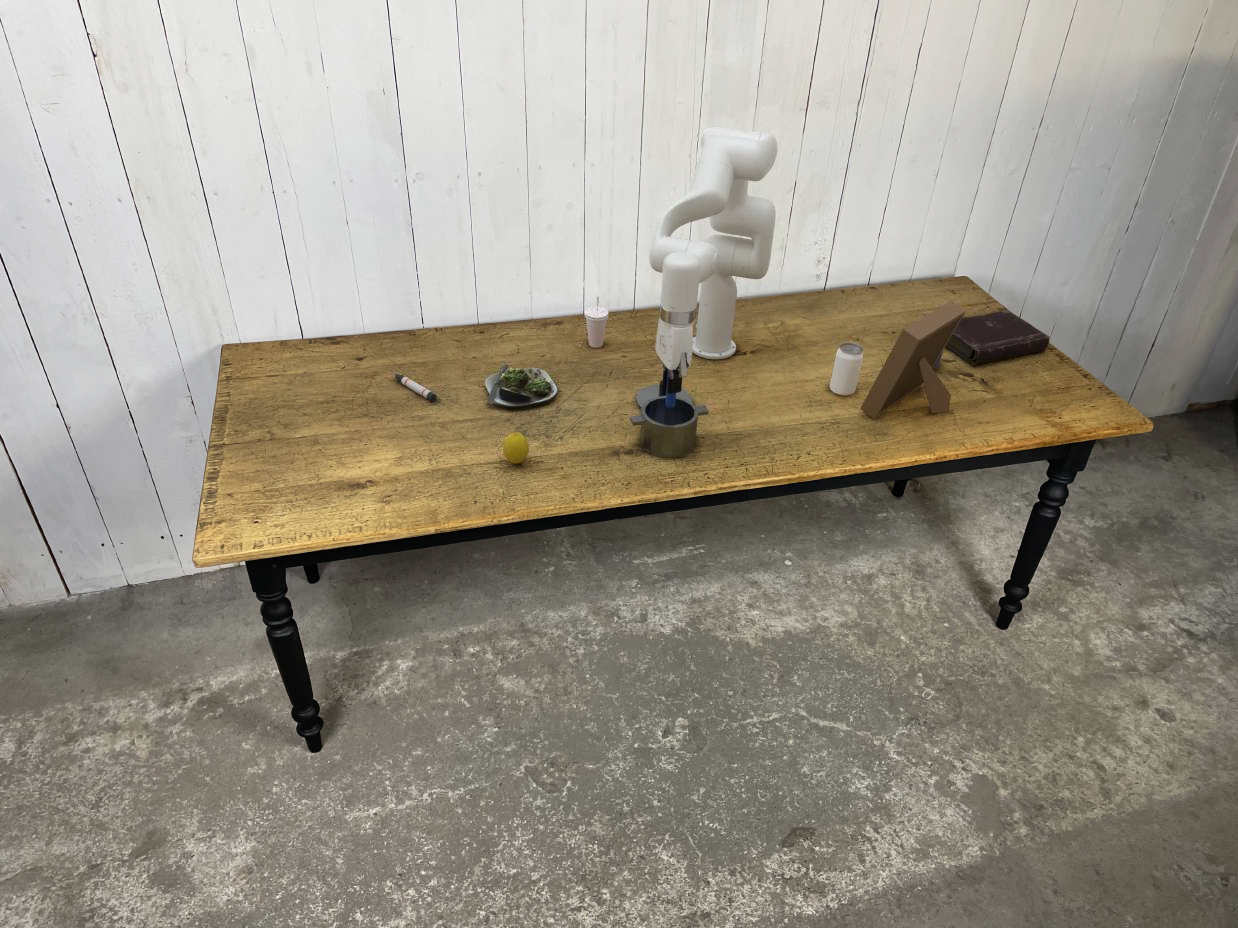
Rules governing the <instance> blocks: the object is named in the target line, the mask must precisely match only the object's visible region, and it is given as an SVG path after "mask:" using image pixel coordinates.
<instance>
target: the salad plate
mask: <svg viewBox="0 0 1238 928" xmlns="http://www.w3.org/2000/svg"><path fill="white" fill-rule="evenodd" d="M484 384H485V388H486V390H487V392H488V396H487V399H486V400H487V401H486V402H487V403H488V404H490V405H496V406H498V407H500V408H502V409H504V410H509V411H520V410H529V409H536V408H540V407H542V406H546V405H548V404H550V403H551V402H552V401H553V400H554V399H555V398H556V397H557V395H558V387H557V385H556V384H555V382H554V381H553V379H552V378H551V376H550V375H549V373H548V372H547V371H545V370H544V369H541V368H537V367H525V368H513V367H512V366H511V367H510V366H509V364H507V363H504V364H502V365H501V366H500V370H499V371H498V372H497V373H494V374H491V375H489V376H488V378H486V379H485V382H484Z"/></svg>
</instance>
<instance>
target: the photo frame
mask: <svg viewBox="0 0 1238 928" xmlns="http://www.w3.org/2000/svg"><path fill="white" fill-rule="evenodd" d="M966 312H967V309H965V308H964V307H962V306H961V305H959V304H957V303H956V302H954V301H953V300H950V301H948V302H946V303H945V304H942V305H941V306H940V307H938V308H936V309H935V310H933V311H931V312H930V313H927V314H926V315H925V316H923V317H921V318H919V319H918V320H916V321H914V322H913V323H911V324H909V325H907V326H906V327H905V328H903V329H902V330H901V332H900V334H899V336H898V337H897V340H896V341H895V343H894V345H893V347H892V349H891V351H890V353H889V355H888V356H887V358H886V360H885V362H884V364H883V365H882V367H881V369H880V371H879V373H878V374H877V376H876V378H875V380H874V382H873V384H872V386H871V388H870V390H869V392H868V393H867V394H866V396H865V398H864V401H863V402H862V404H861V406H860V408H859V409H860V410H861V411H862V412H864V413H865V414H866V415H868V416H869V417H871V418H872V419H873V420H875V419H877V418H878V417H880V416H881V415H883V414H884V413H886V412H887V411H888V410H890V409H891V408H893V407H895V406H896V405H897V404H899V403H900V402H902V401H903V400H905V399H906V398H908V397H909V396H910V395H912V394H913V393H915V392H917V391H918V390H919V389H920V388H922V386H923V387H924V391H925V395H926V399H927V402H928V406H929V410H930V413H931V414H938V413H947V412H949V409H950V405H951V400H952V399H951V398H952V394H951V393H950V391H949V390H948V388H947V387H946V386H945V384H944V383H943V381H942V380H941V379H940V376H939V375H938V374H937V372H935V370H934V368H932V367H933V366H934V364H935V362H936V361H937V359H938V357H939V356H940V354H941V352H942V351H943V352H944V350H945V347H946V344H947V342H948V341H949V339H950V337H951V336H952V334H953V332H954V331H955V329H956V327H957V326H958V324H959V322H960V321H961V319H962V318H963V317H965V314H966ZM943 349H944V350H943Z"/></svg>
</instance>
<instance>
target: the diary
mask: <svg viewBox="0 0 1238 928" xmlns="http://www.w3.org/2000/svg"><path fill="white" fill-rule="evenodd" d="M1050 338H1051V337H1050V335H1048V334H1046V333H1044V332H1043V331H1041V330H1040V329H1038V328H1036V327H1035V326H1033V325H1032V324H1031V323H1030V322H1028V321H1026V320H1025V319H1023V318H1021V317H1019V316H1018V315H1016V314H1014V313H1013V312H1010V311H1009V310H1007V309H1005V310H999V311H994V312H989V313H983V314H978V315H973V316H963V317H962V319H961V321H960V322H959V324H958V326H957V327H956V329H955V331H954V332H953V334H952V336H951V337H950V339H949V341H948V342H947V344H946V346H945V347H946V348H947V349H949V350H950V351H951V352H952V353H954V354H956V355H957V356H959V357H960V358H961V359H963V360H964V361H966V362H967V363H969V364H970V365H971V366H978V365H982V364H985V363H990V362H994V361H995V362H996V361H999V360H1001V361H1002V360H1005V359H1006V360H1007V359H1012V358H1014V357H1018V356H1023V355H1026V354H1033V353H1038V352H1043V351H1046V350H1047V348H1048V346H1049V343H1050Z"/></svg>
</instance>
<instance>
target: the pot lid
mask: <svg viewBox="0 0 1238 928" xmlns="http://www.w3.org/2000/svg"><path fill="white" fill-rule="evenodd" d="M666 390H667V387H663V385H662V380H660V381H659V383H654V384H650V385H647V386H644V387H642V388H640V390H638V392H637V393H636V395H635V402H636V405H637V406H638V407H639V408H640V409H641V410H642V406H643V405H644V404H645V402H646V401H648V400H650V399H652V398H654V397H660V396H666ZM676 397H680V398H683V399H686V400H688V401H690V402H691V403H693V402H692V401H693V400H692V396H691V395H690V393H689V392H688V391H687V390H685V389H684V388H682V389H681V392H679V393H676Z"/></svg>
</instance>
